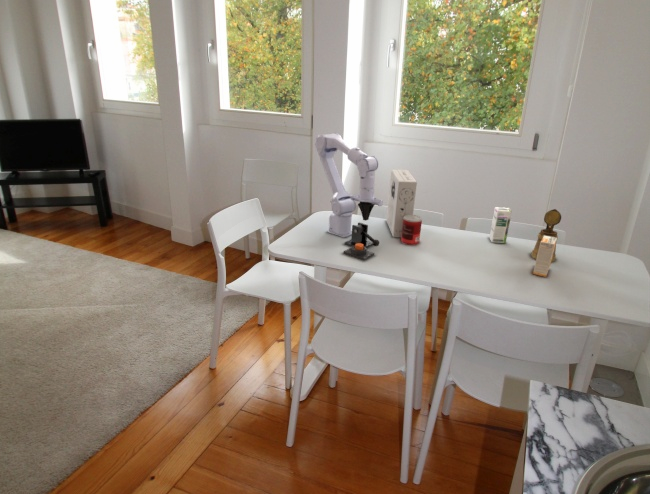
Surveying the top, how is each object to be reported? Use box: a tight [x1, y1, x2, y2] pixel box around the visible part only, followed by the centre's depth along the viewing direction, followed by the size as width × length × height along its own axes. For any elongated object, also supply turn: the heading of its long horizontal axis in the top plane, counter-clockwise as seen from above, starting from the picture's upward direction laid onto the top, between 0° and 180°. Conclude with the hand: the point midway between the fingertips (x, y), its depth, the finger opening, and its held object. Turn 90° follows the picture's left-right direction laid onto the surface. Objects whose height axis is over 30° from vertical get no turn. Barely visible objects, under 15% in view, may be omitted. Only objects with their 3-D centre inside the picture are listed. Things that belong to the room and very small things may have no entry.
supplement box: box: [532, 236, 558, 278], centre depth 172 cm, size 8×5×13 cm, turn 148°
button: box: [355, 243, 363, 250], centre depth 184 cm, size 3×3×2 cm
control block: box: [343, 245, 375, 261], centre depth 185 cm, size 10×7×3 cm
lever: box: [356, 224, 380, 247], centre depth 191 cm, size 12×3×3 cm, turn 50°
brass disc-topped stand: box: [530, 208, 562, 263], centre depth 186 cm, size 9×14×18 cm, turn 150°
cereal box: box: [385, 168, 418, 238], centre depth 208 cm, size 22×8×25 cm, turn 179°
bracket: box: [344, 221, 373, 249], centre depth 193 cm, size 9×8×9 cm
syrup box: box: [489, 206, 512, 244], centre depth 200 cm, size 6×6×14 cm
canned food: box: [400, 214, 423, 246], centre depth 197 cm, size 8×8×11 cm
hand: (365, 219), depth 193 cm, fingers closed
